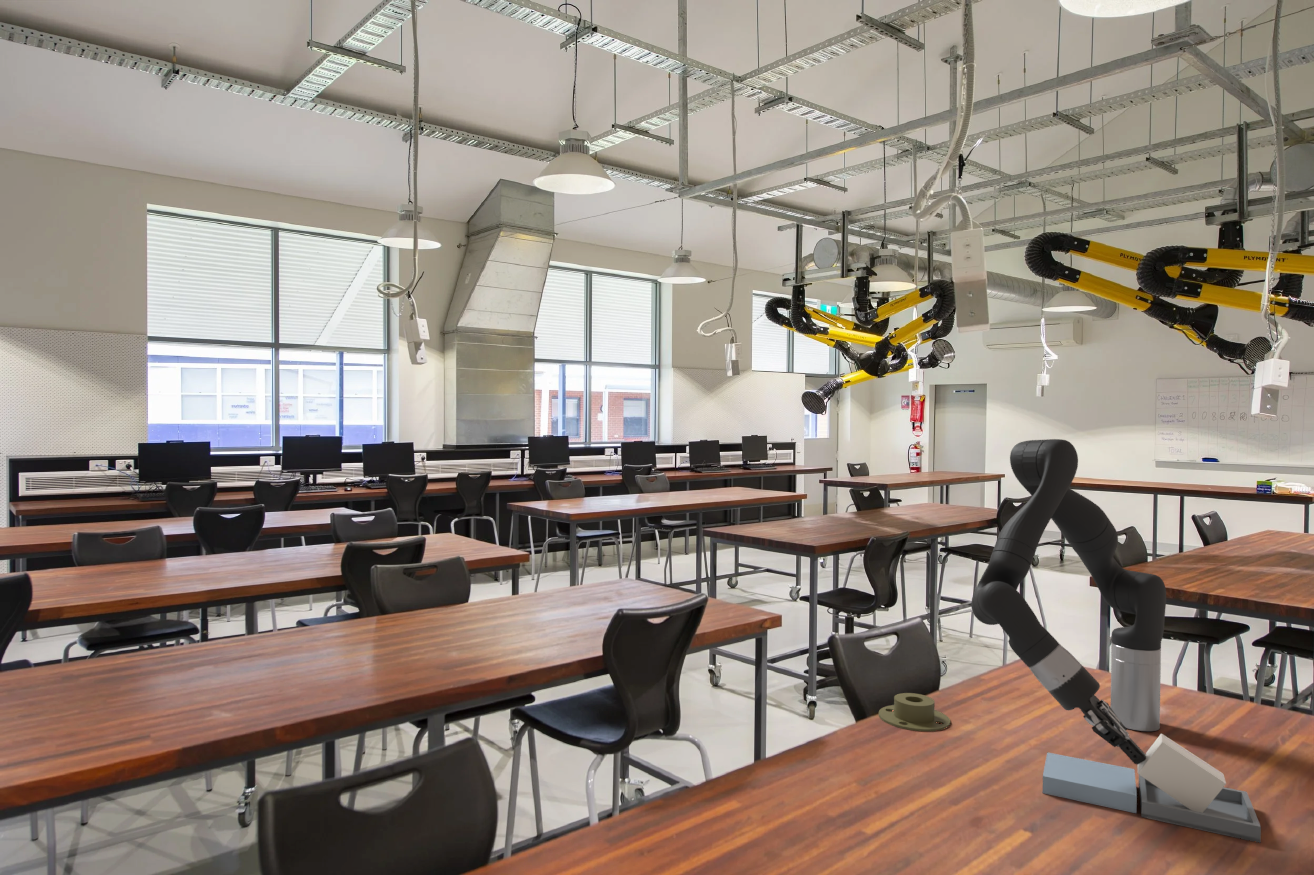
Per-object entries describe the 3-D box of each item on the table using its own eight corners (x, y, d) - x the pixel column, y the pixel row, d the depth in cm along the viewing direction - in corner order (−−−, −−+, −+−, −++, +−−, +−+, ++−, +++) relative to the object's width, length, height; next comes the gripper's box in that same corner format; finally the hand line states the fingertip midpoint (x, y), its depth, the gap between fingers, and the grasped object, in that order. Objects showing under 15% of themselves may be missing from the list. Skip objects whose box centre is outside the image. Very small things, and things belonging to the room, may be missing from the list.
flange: (867, 700, 171) (935, 716, 161) (895, 684, 183) (960, 698, 173) (867, 721, 171) (934, 739, 161) (895, 704, 183) (960, 719, 173)
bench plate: (1047, 768, 147) (1047, 752, 147) (1134, 785, 140) (1134, 769, 140) (1042, 793, 136) (1042, 776, 136) (1136, 813, 129) (1136, 795, 129)
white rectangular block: (1137, 764, 136) (1161, 733, 134) (1197, 805, 131) (1223, 773, 130) (1137, 773, 132) (1162, 742, 130) (1199, 816, 128) (1226, 783, 126)
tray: (1138, 784, 140) (1138, 770, 140) (1246, 806, 132) (1246, 791, 132) (1141, 817, 128) (1141, 801, 128) (1260, 843, 120) (1260, 826, 120)
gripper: (1078, 673, 133) (1162, 762, 127) (1082, 655, 144) (1158, 736, 138) (1043, 698, 136) (1123, 786, 130) (1049, 679, 147) (1123, 759, 141)
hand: (1141, 760), depth 134 cm, fingers closed
